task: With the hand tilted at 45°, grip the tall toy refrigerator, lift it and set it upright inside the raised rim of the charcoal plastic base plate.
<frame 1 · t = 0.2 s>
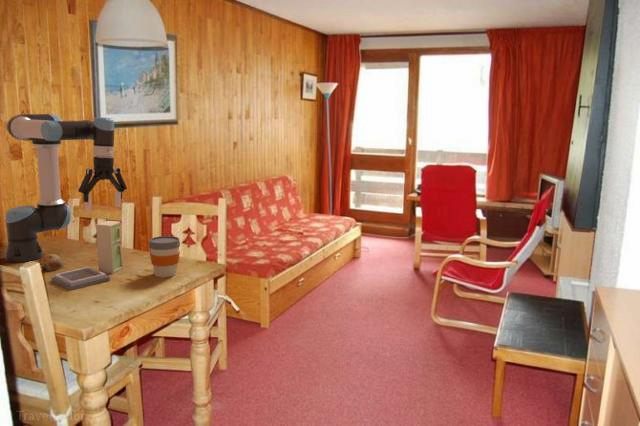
hand: (103, 208, 207), 28 cm above the table, tool pointing down, fingers open, 13 cm apart
toy refrigerator: (112, 271, 217), on the table
reusable coffee cup: (165, 274, 215), on the table
base plate: (80, 280, 204), on the table
bread roll: (50, 268, 219), on the table
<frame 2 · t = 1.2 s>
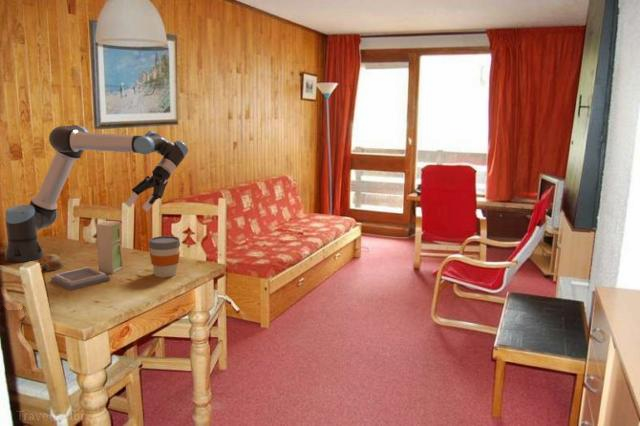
hand: (135, 207, 221), 26 cm above the table, tool tilted 45°, fingers open, 13 cm apart
nothing on the table moved.
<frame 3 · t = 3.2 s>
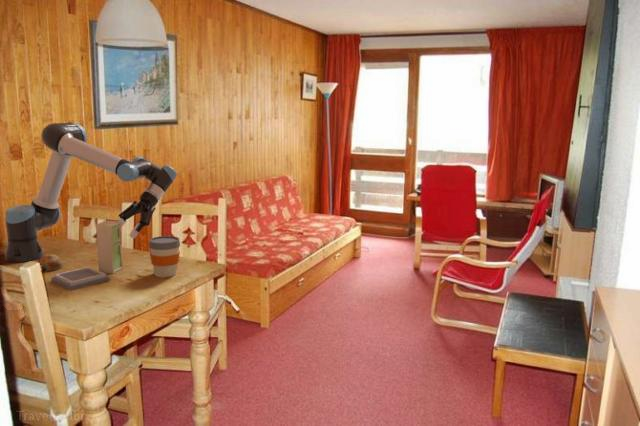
hand: (122, 234, 218), 15 cm above the table, tool tilted 45°, fingers open, 13 cm apart
nothing on the table moved.
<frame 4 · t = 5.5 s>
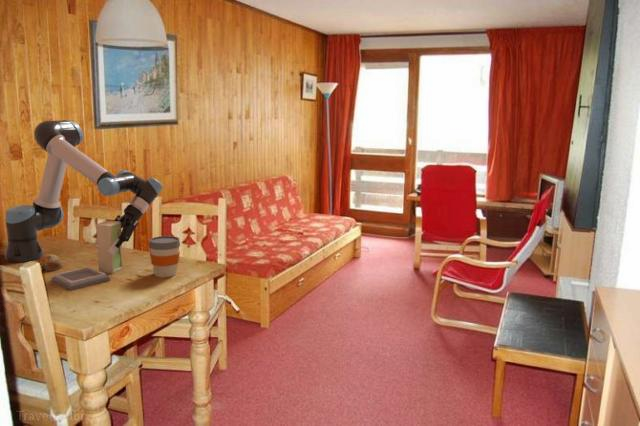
hand: (103, 250, 213), 9 cm above the table, tool tilted 45°, fingers open, 10 cm apart
toy refrigerator: (112, 271, 217), on the table, touching gripper
everything else where it was.
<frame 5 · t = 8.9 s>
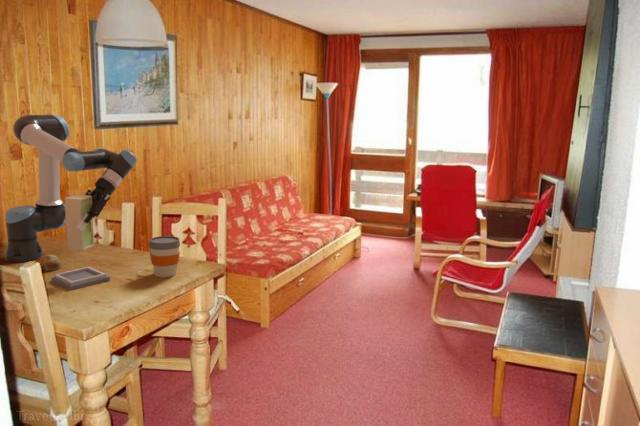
hand: (72, 226, 198), 23 cm above the table, tool tilted 45°, fingers closed on toy refrigerator, 9 cm apart
toy refrigerator: (82, 248, 202), point 13 cm above the table, touching gripper
everything else where it was.
when the fingers open (13 cm above the table, at t = 12.3 s): toy refrigerator drops 2 cm, resting on base plate.
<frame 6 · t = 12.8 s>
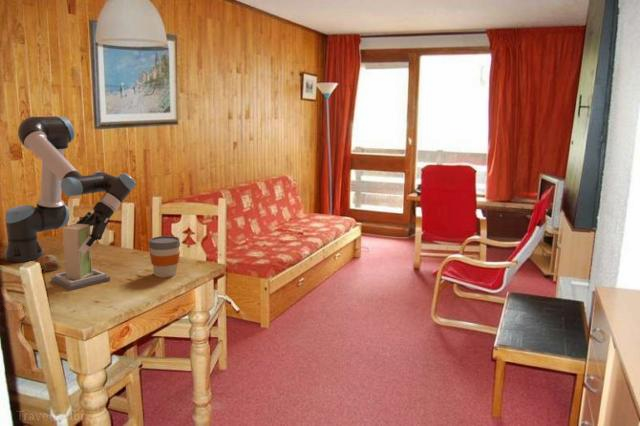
hand: (72, 248, 200), 14 cm above the table, tool tilted 45°, fingers open, 13 cm apart
toy refrigerator: (80, 277, 204), point 1 cm above the table, touching base plate
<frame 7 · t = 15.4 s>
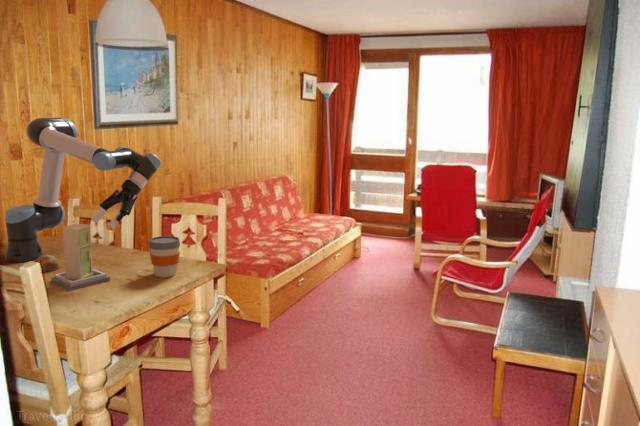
hand: (102, 224, 208), 22 cm above the table, tool tilted 45°, fingers open, 13 cm apart
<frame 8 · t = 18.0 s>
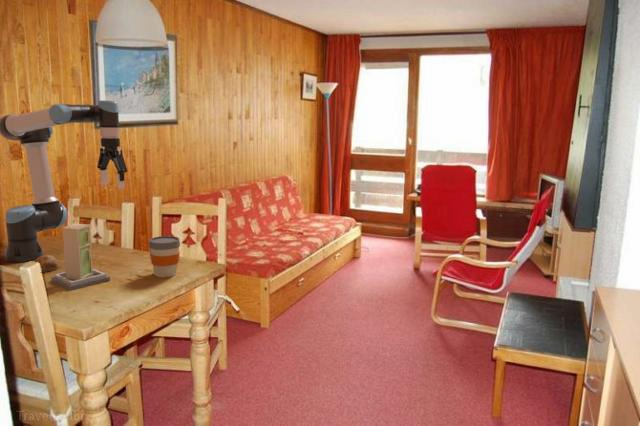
hand: (113, 186, 221), 35 cm above the table, tool pointing down, fingers open, 13 cm apart
at the end: toy refrigerator 0.1 cm off-centre on the base plate, point 1.3 cm above the base plate's base; toy refrigerator tilted 0°; the gripper is holding nothing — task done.
